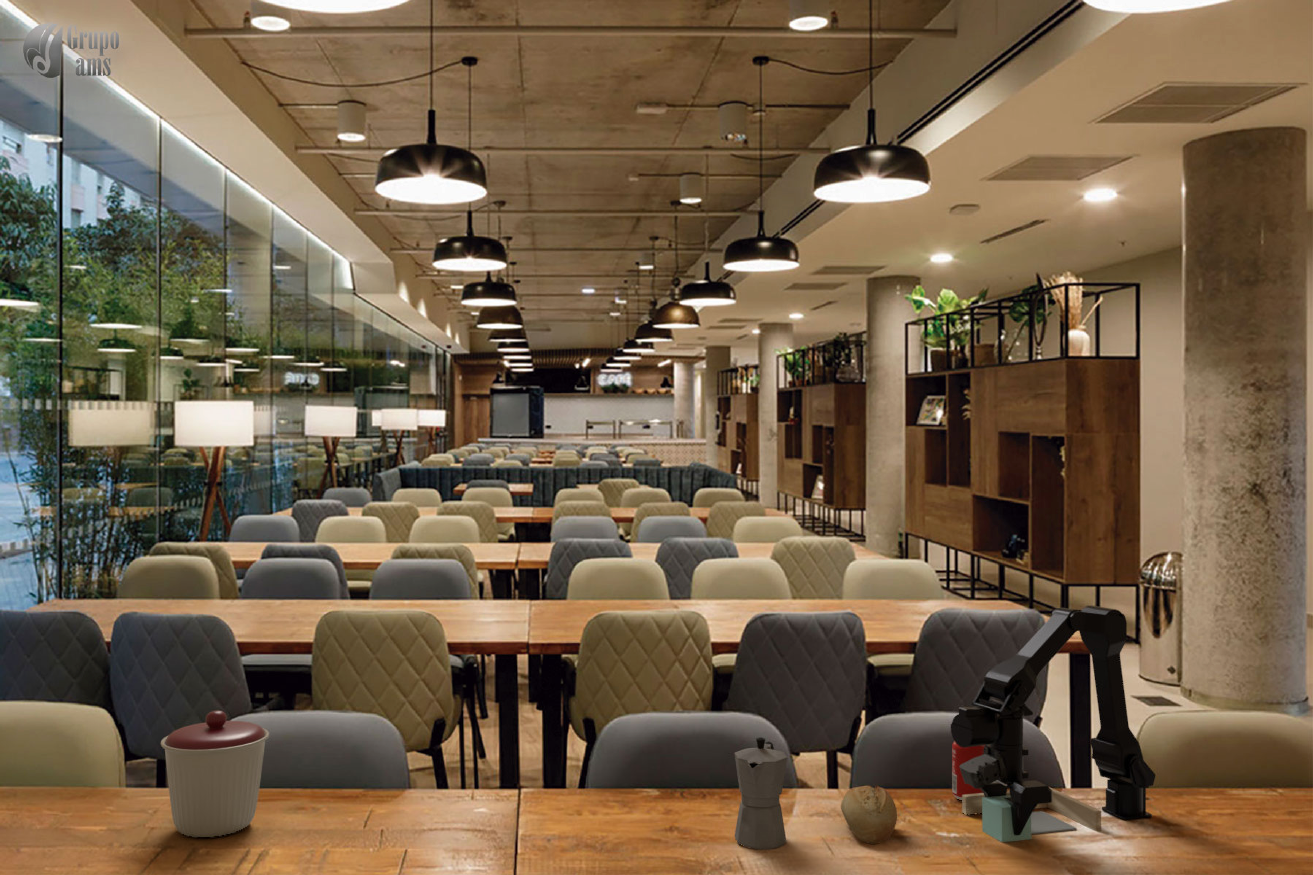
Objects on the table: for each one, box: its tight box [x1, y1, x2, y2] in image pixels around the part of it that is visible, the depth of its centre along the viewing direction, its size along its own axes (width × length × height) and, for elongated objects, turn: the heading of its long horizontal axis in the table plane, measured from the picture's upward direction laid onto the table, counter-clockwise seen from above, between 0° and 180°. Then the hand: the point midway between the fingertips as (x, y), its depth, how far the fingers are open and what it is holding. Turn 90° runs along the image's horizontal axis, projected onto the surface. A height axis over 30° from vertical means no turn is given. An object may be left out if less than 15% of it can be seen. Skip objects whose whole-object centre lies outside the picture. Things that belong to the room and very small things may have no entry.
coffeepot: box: [734, 737, 788, 850], centre depth 193 cm, size 15×9×18 cm, turn 162°
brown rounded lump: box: [840, 785, 898, 845], centre depth 197 cm, size 10×15×8 cm, turn 2°
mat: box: [1031, 810, 1077, 836], centre depth 202 cm, size 10×10×1 cm
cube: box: [981, 795, 1032, 843], centre depth 195 cm, size 6×6×6 cm
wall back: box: [1047, 786, 1102, 832], centre depth 205 cm, size 1×15×4 cm, turn 16°
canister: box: [160, 710, 270, 838], centre depth 196 cm, size 18×18×21 cm
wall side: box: [961, 790, 1048, 816], centre depth 209 cm, size 18×1×4 cm, turn 106°
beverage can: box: [951, 741, 985, 800], centre depth 216 cm, size 6×6×12 cm
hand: (1006, 829), depth 195 cm, fingers closed on cube, 6 cm apart
